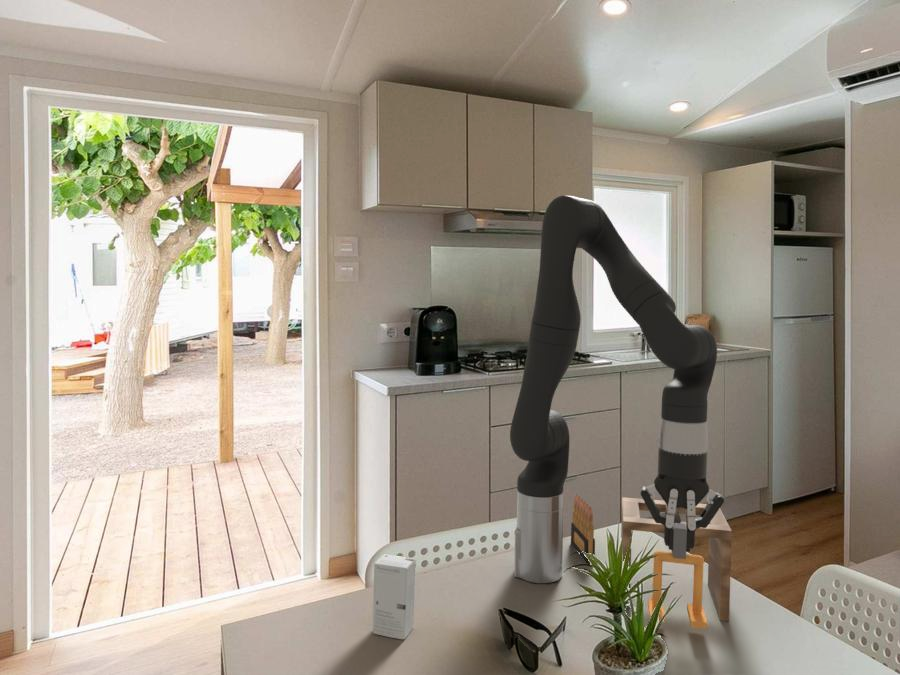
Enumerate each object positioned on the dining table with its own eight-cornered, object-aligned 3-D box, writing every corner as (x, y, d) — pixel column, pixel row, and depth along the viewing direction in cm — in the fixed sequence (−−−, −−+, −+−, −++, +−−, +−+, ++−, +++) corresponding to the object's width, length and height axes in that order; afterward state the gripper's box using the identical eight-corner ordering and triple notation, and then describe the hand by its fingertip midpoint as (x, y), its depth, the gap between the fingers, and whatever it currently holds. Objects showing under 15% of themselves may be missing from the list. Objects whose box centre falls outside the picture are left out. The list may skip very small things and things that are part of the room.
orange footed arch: (649, 621, 101) (652, 529, 100) (647, 603, 107) (650, 517, 106) (707, 629, 99) (710, 535, 98) (701, 611, 105) (705, 522, 104)
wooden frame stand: (621, 607, 111) (623, 512, 110) (620, 574, 125) (622, 489, 124) (729, 621, 107) (732, 521, 106) (716, 585, 120) (718, 496, 119)
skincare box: (371, 634, 102) (371, 563, 101) (382, 621, 106) (382, 552, 106) (406, 641, 100) (406, 568, 100) (416, 627, 105) (416, 557, 104)
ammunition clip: (595, 563, 130) (596, 507, 130) (586, 563, 130) (587, 508, 129) (578, 543, 141) (579, 492, 140) (570, 543, 141) (571, 492, 140)
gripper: (639, 448, 99) (636, 553, 101) (732, 455, 96) (727, 563, 97) (638, 438, 107) (634, 536, 108) (723, 444, 103) (719, 545, 104)
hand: (678, 548), depth 102 cm, fingers closed on orange footed arch
